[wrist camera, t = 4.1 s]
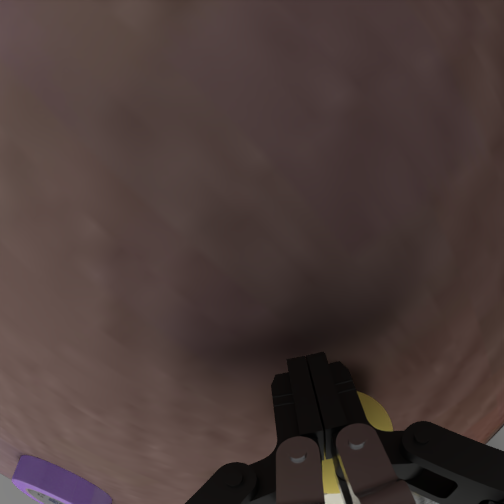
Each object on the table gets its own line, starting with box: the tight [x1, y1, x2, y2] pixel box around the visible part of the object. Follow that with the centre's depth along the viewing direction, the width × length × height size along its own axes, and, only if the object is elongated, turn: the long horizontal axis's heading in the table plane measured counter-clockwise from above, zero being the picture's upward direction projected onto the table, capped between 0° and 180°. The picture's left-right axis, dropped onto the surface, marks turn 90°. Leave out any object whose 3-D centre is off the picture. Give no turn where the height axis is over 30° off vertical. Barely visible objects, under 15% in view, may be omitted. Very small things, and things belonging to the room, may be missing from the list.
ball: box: [322, 391, 393, 494], centre depth 12 cm, size 6×6×6 cm
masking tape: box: [12, 455, 112, 504], centre depth 20 cm, size 12×12×4 cm
